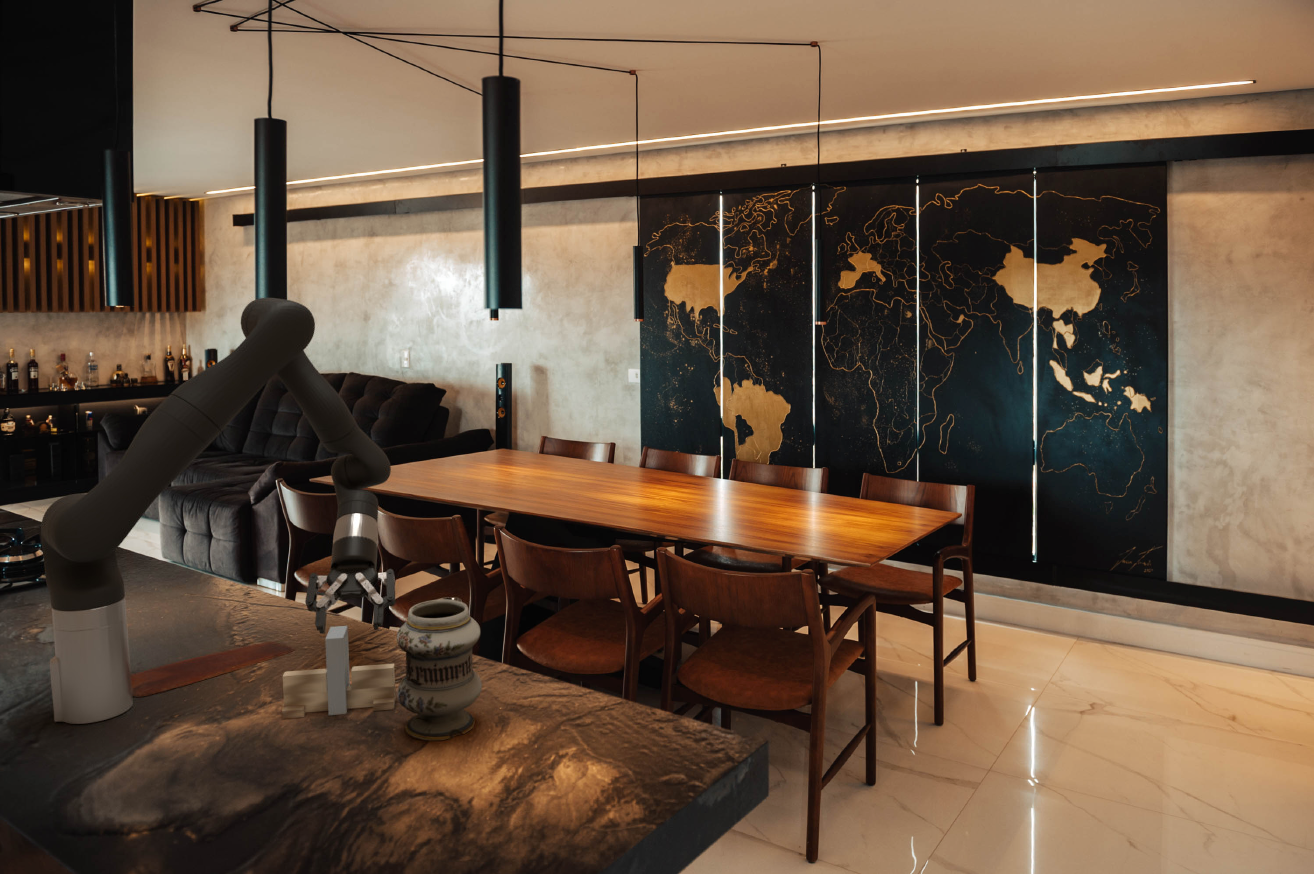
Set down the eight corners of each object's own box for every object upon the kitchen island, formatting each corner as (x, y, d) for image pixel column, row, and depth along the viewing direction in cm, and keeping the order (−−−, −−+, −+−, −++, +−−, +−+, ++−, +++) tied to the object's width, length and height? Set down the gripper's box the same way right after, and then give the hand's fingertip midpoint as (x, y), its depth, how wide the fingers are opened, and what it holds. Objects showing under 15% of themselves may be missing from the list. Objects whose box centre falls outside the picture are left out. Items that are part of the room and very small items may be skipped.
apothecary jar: (428, 753, 117) (424, 627, 115) (382, 726, 125) (378, 608, 123) (499, 724, 126) (497, 607, 124) (452, 700, 134) (449, 589, 132)
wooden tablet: (138, 703, 133) (137, 693, 133) (115, 686, 140) (114, 676, 140) (300, 655, 154) (300, 646, 154) (274, 641, 160) (273, 633, 160)
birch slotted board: (282, 718, 127) (280, 680, 126) (289, 704, 132) (287, 667, 131) (393, 709, 131) (392, 671, 130) (396, 695, 135) (395, 659, 135)
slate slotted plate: (328, 715, 128) (325, 638, 127) (333, 700, 134) (330, 626, 132) (346, 713, 129) (342, 637, 128) (350, 698, 134) (347, 625, 133)
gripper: (309, 536, 146) (299, 622, 136) (395, 532, 149) (391, 616, 139) (316, 558, 152) (307, 642, 142) (398, 554, 155) (395, 636, 145)
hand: (349, 629), depth 141 cm, fingers open, 8 cm apart
